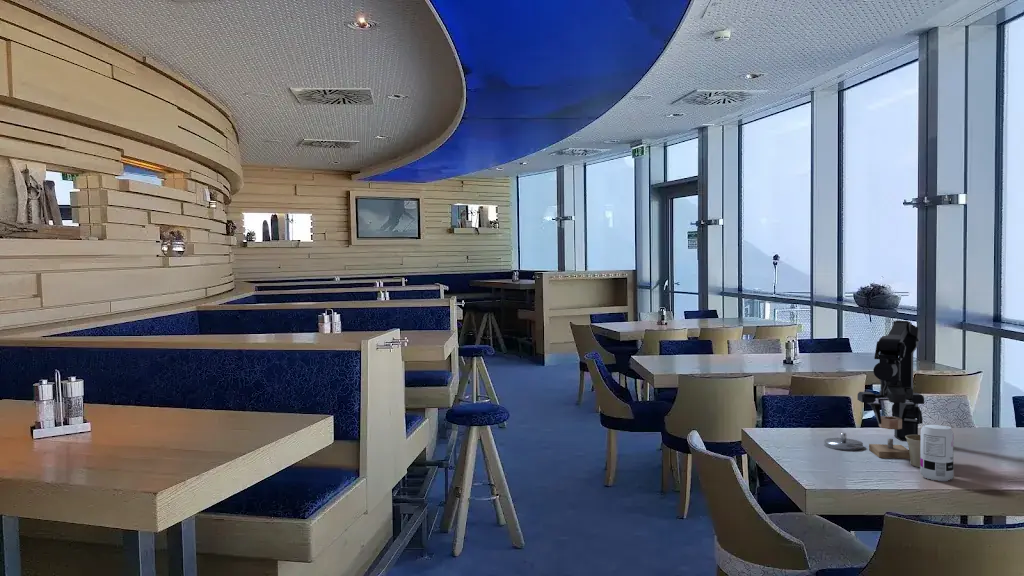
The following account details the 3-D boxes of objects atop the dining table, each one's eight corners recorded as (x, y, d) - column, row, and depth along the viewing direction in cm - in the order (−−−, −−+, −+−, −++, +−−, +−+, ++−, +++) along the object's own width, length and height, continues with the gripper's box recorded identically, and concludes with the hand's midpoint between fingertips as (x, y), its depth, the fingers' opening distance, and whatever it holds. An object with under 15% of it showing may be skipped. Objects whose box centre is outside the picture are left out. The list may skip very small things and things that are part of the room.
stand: (901, 450, 236) (901, 436, 236) (912, 458, 226) (912, 443, 226) (869, 449, 237) (869, 435, 237) (879, 457, 228) (879, 442, 227)
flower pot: (938, 463, 220) (938, 435, 220) (942, 471, 212) (942, 442, 212) (904, 460, 224) (904, 433, 224) (906, 468, 216) (906, 439, 215)
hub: (856, 442, 247) (856, 429, 247) (867, 451, 236) (867, 437, 236) (820, 441, 250) (820, 428, 249) (829, 450, 238) (829, 436, 238)
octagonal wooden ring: (897, 425, 234) (897, 416, 234) (904, 429, 228) (904, 420, 228) (876, 424, 235) (876, 415, 235) (883, 429, 229) (883, 419, 229)
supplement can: (914, 474, 209) (914, 423, 209) (940, 473, 210) (940, 423, 209) (932, 482, 201) (932, 430, 201) (960, 481, 202) (960, 429, 201)
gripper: (867, 379, 225) (867, 428, 225) (931, 380, 221) (931, 430, 222) (857, 374, 236) (856, 421, 236) (917, 375, 232) (917, 422, 233)
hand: (890, 423), depth 231 cm, fingers closed on octagonal wooden ring, 6 cm apart
